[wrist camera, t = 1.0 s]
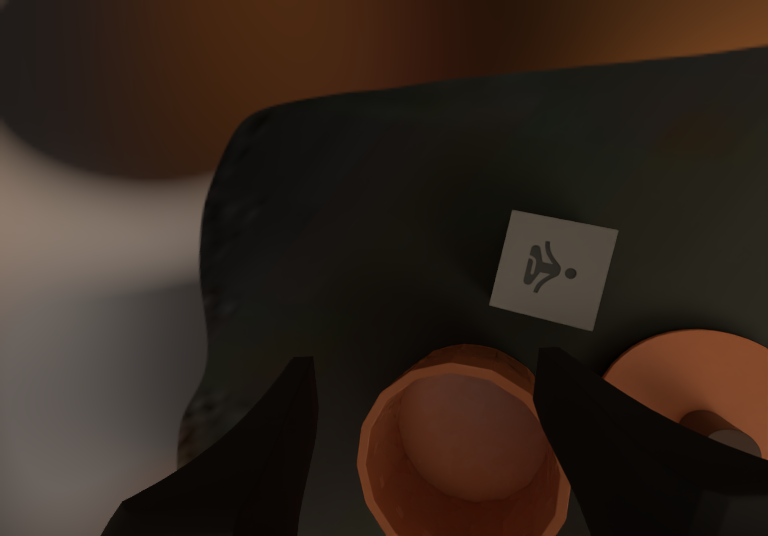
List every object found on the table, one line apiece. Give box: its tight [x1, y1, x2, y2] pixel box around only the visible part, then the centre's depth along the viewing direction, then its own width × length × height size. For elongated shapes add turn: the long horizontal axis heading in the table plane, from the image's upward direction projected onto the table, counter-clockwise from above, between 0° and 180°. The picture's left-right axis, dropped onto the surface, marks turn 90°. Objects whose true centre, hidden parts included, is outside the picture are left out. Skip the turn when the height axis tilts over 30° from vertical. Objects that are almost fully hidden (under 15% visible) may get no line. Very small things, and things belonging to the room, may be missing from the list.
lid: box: [602, 329, 768, 460], centre depth 23 cm, size 11×11×4 cm
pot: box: [357, 344, 571, 536], centre depth 25 cm, size 10×10×7 cm
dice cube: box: [489, 210, 618, 331], centre depth 25 cm, size 5×5×5 cm
